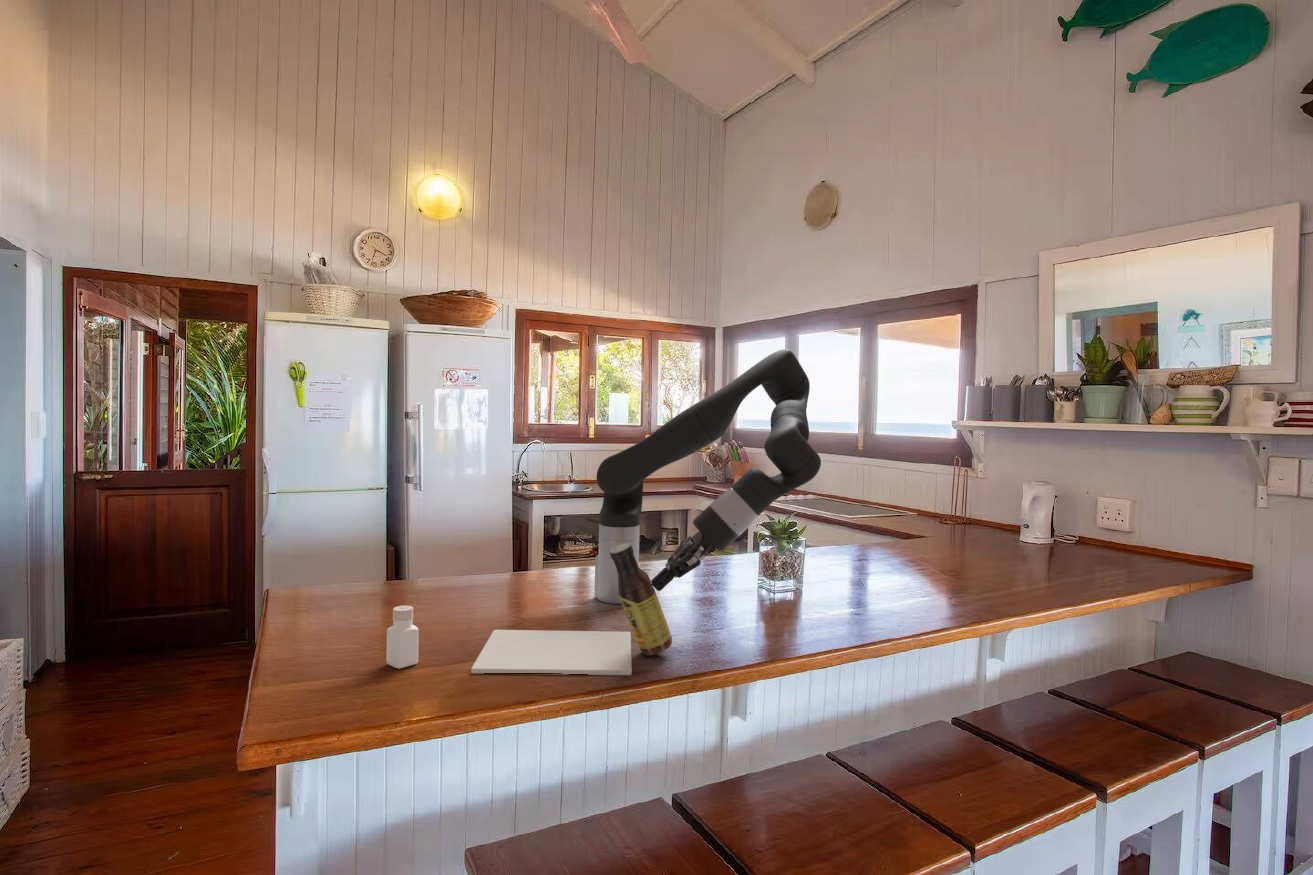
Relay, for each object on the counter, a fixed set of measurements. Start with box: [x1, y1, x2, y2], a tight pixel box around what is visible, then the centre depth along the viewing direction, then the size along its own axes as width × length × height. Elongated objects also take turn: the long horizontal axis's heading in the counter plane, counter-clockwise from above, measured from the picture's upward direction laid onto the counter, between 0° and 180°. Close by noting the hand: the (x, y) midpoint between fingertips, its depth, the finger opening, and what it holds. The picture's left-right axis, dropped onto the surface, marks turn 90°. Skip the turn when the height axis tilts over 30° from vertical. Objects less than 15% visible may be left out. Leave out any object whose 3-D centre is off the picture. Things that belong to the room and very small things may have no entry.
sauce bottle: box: [610, 543, 673, 657], centre depth 124 cm, size 7×6×20 cm
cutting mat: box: [470, 629, 633, 676], centre depth 125 cm, size 26×20×1 cm
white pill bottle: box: [385, 605, 420, 670], centre depth 117 cm, size 4×4×10 cm
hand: (654, 586), depth 125 cm, fingers closed
